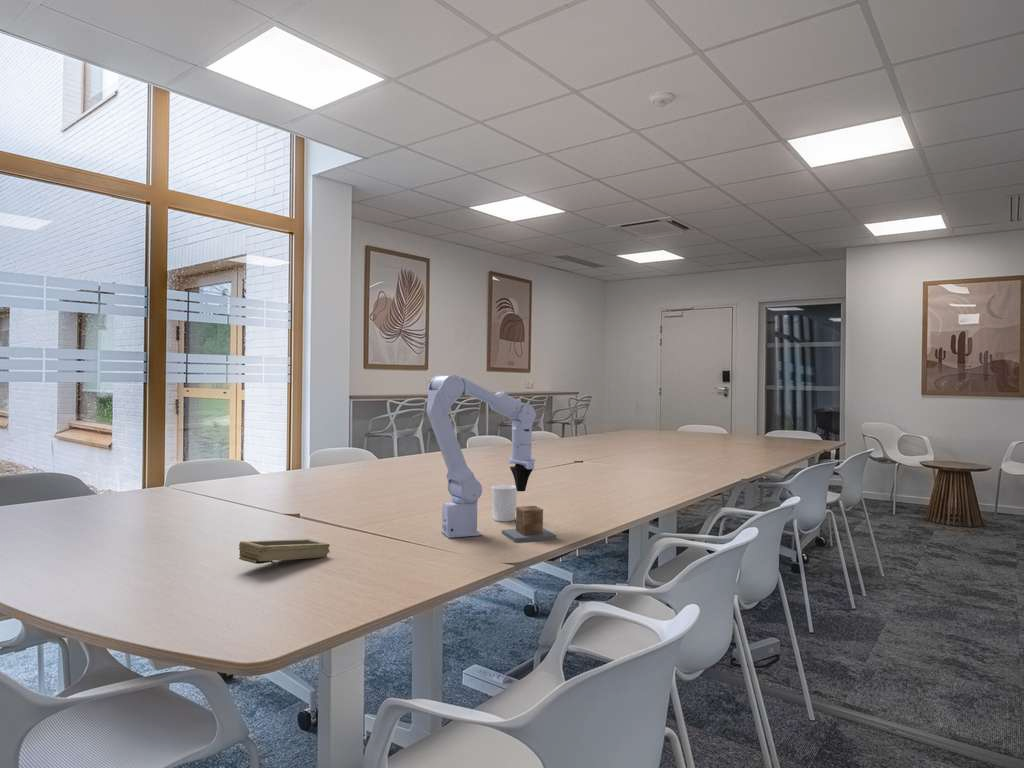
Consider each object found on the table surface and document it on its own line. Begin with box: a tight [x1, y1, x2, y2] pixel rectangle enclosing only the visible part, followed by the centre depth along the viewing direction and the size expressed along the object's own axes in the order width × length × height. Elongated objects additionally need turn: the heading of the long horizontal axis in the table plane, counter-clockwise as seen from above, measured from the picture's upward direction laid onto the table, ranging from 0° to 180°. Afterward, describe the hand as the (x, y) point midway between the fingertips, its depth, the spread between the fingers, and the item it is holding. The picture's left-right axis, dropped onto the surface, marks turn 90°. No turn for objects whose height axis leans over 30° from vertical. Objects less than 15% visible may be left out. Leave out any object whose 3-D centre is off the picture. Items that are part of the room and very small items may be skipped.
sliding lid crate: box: [515, 505, 544, 536], centre depth 169 cm, size 6×6×7 cm
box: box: [238, 538, 330, 566], centre depth 142 cm, size 8×22×5 cm, turn 149°
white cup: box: [491, 484, 518, 522], centre depth 190 cm, size 8×8×10 cm
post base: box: [501, 527, 558, 543], centre depth 169 cm, size 12×10×5 cm
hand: (520, 491), depth 180 cm, fingers closed
